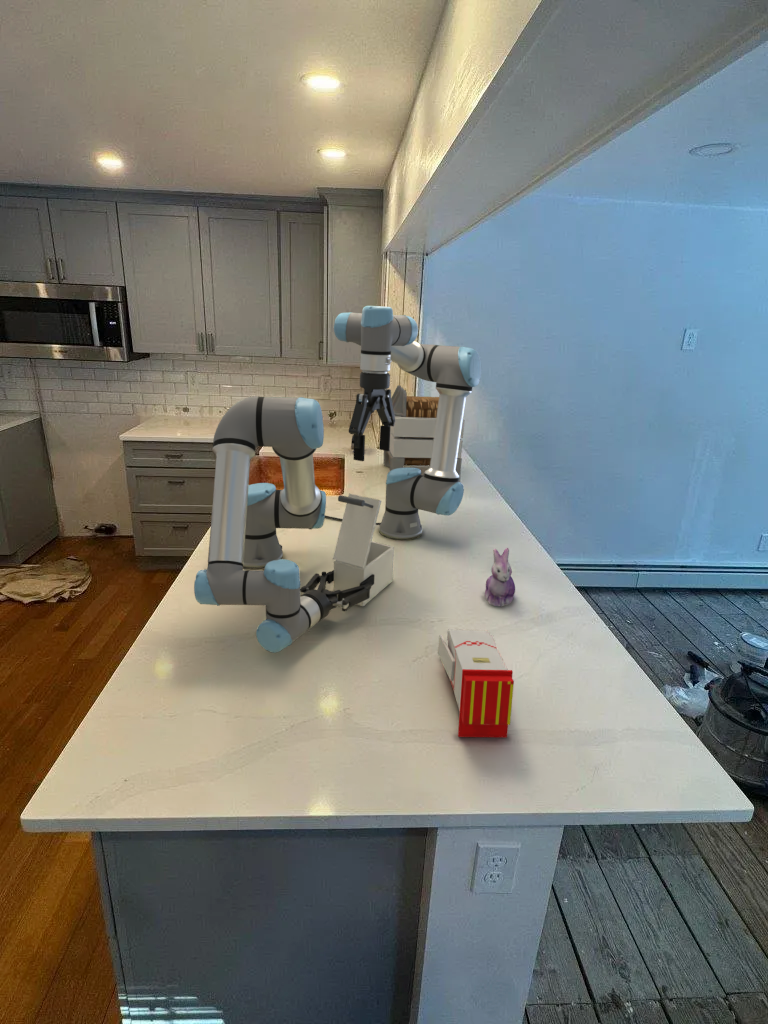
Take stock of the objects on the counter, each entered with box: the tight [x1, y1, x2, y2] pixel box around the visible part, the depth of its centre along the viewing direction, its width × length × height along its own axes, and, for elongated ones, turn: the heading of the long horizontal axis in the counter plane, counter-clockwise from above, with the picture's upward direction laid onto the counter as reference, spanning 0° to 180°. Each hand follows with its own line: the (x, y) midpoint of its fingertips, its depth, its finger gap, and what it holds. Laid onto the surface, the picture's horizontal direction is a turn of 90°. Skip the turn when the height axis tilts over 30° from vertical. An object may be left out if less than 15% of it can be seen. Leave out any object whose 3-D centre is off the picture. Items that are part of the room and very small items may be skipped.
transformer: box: [383, 384, 465, 483], centre depth 268 cm, size 34×33×41 cm
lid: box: [332, 493, 382, 568], centre depth 146 cm, size 18×9×8 cm
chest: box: [333, 540, 395, 607], centre depth 158 cm, size 17×9×11 cm, turn 152°
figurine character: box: [350, 434, 354, 453], centre depth 311 cm, size 7×8×15 cm
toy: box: [437, 628, 515, 738], centre depth 117 cm, size 12×13×30 cm
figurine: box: [484, 547, 516, 607], centre depth 155 cm, size 9×10×15 cm
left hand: (357, 574), depth 154 cm, fingers closed on chest, 9 cm apart
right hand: (372, 455), depth 148 cm, fingers open, 13 cm apart
